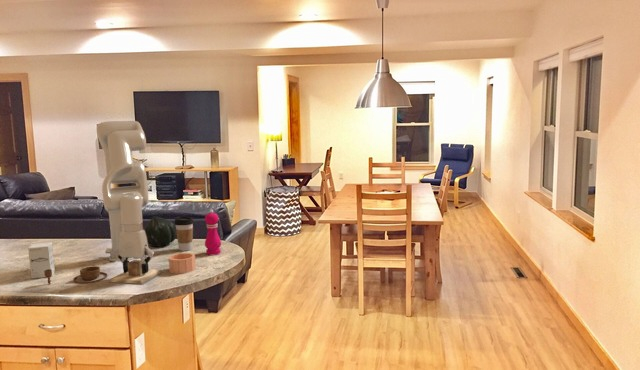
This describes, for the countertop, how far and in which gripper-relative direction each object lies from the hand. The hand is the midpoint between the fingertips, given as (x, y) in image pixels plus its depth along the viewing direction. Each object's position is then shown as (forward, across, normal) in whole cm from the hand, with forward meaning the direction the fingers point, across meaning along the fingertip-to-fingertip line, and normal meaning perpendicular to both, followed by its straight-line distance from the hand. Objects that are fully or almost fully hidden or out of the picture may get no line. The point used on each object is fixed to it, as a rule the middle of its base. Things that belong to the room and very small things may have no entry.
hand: (136, 272), depth 195 cm
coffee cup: (+3, -2, +42) cm, 42 cm away
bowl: (+3, +13, +12) cm, 18 cm away
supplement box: (+3, -40, -3) cm, 40 cm away
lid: (+2, 0, 0) cm, 2 cm away
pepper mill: (+3, +14, +38) cm, 41 cm away
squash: (+3, -18, +48) cm, 51 cm away
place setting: (+3, -21, -4) cm, 22 cm away
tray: (+3, 0, 0) cm, 3 cm away
